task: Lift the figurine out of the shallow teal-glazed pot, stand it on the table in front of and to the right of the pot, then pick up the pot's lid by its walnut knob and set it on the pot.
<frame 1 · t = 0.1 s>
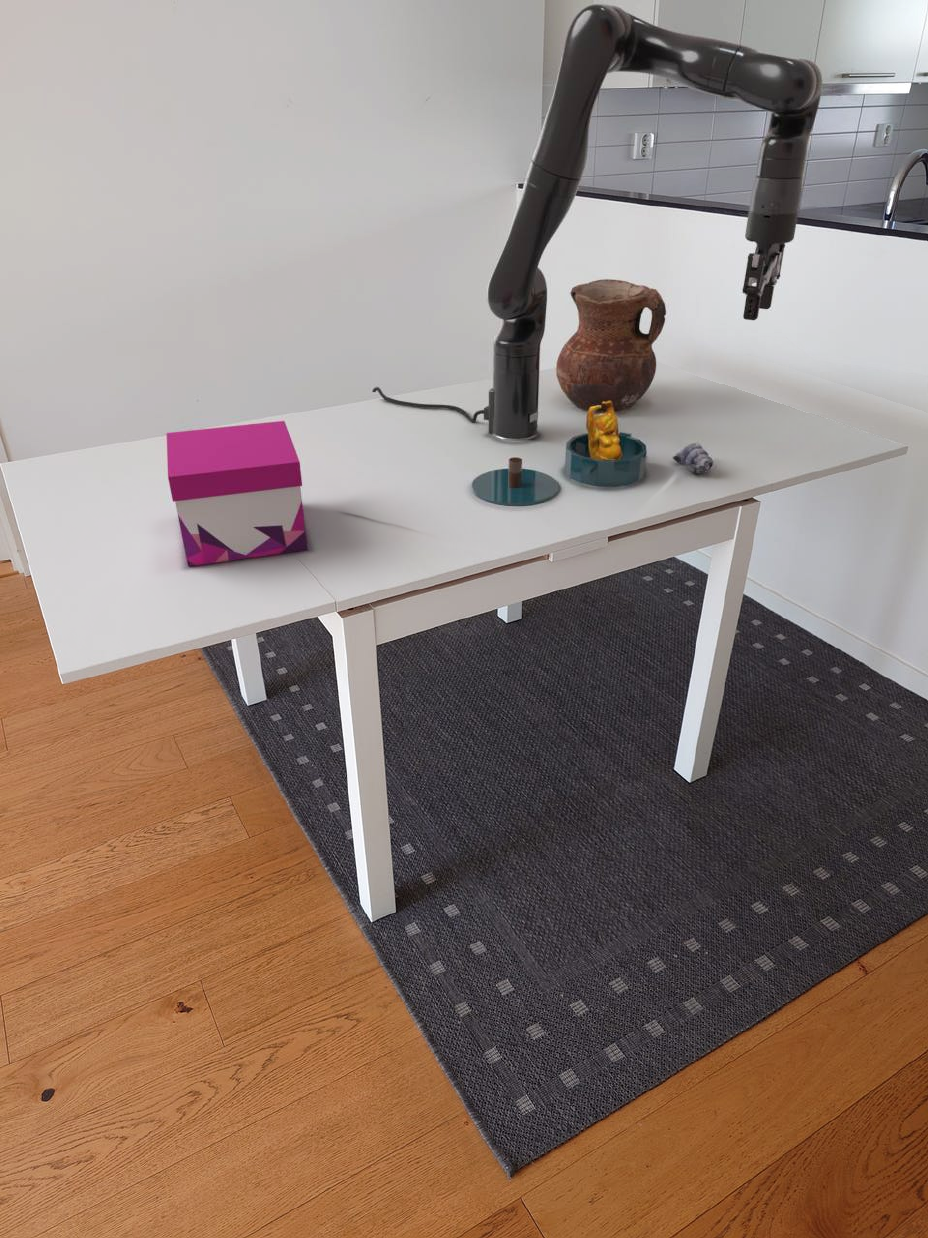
hand: (756, 313, 149), 29 cm above the table, tool pointing down, fingers open, 8 cm apart
figurine: (604, 472, 166), resting on pot
jug: (603, 403, 201), on the table
pot: (603, 473, 166), on the table
lid: (514, 487, 159), point 1 cm above the table
seashell: (693, 470, 167), on the table
decorative box: (244, 534, 146), on the table
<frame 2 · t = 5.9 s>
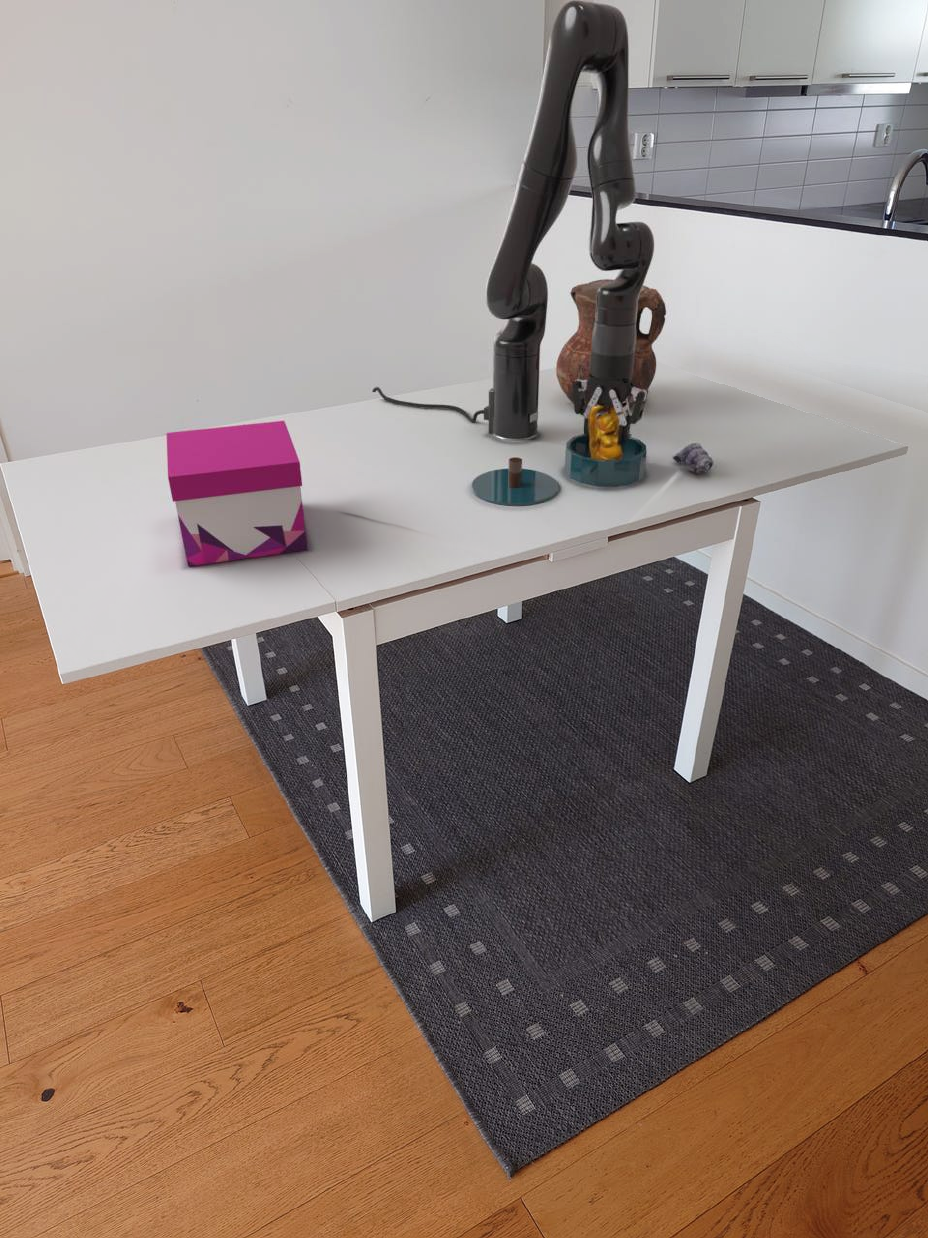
hand: (605, 439, 163), 7 cm above the table, tool pointing down, fingers closed on figurine, 5 cm apart
figurine: (604, 472, 166), resting on pot, touching gripper
everything else where it was.
when the fingers open (6 cm above the table, at t = 12.9 s): figurine stays where it is, on the table.
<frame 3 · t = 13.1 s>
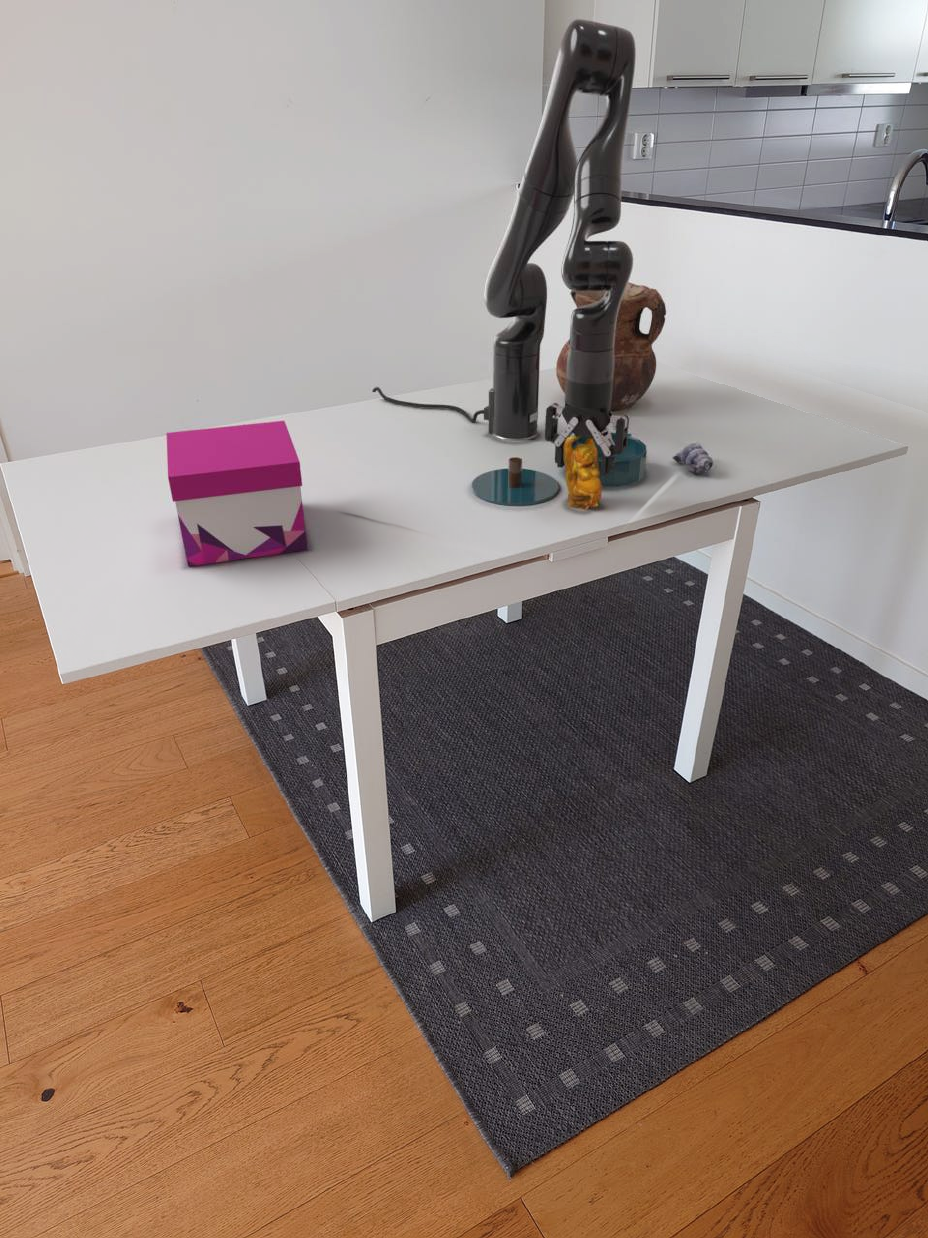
hand: (583, 470, 151), 7 cm above the table, tool pointing down, fingers open, 7 cm apart
figurine: (583, 506, 154), on the table
everything else where it was.
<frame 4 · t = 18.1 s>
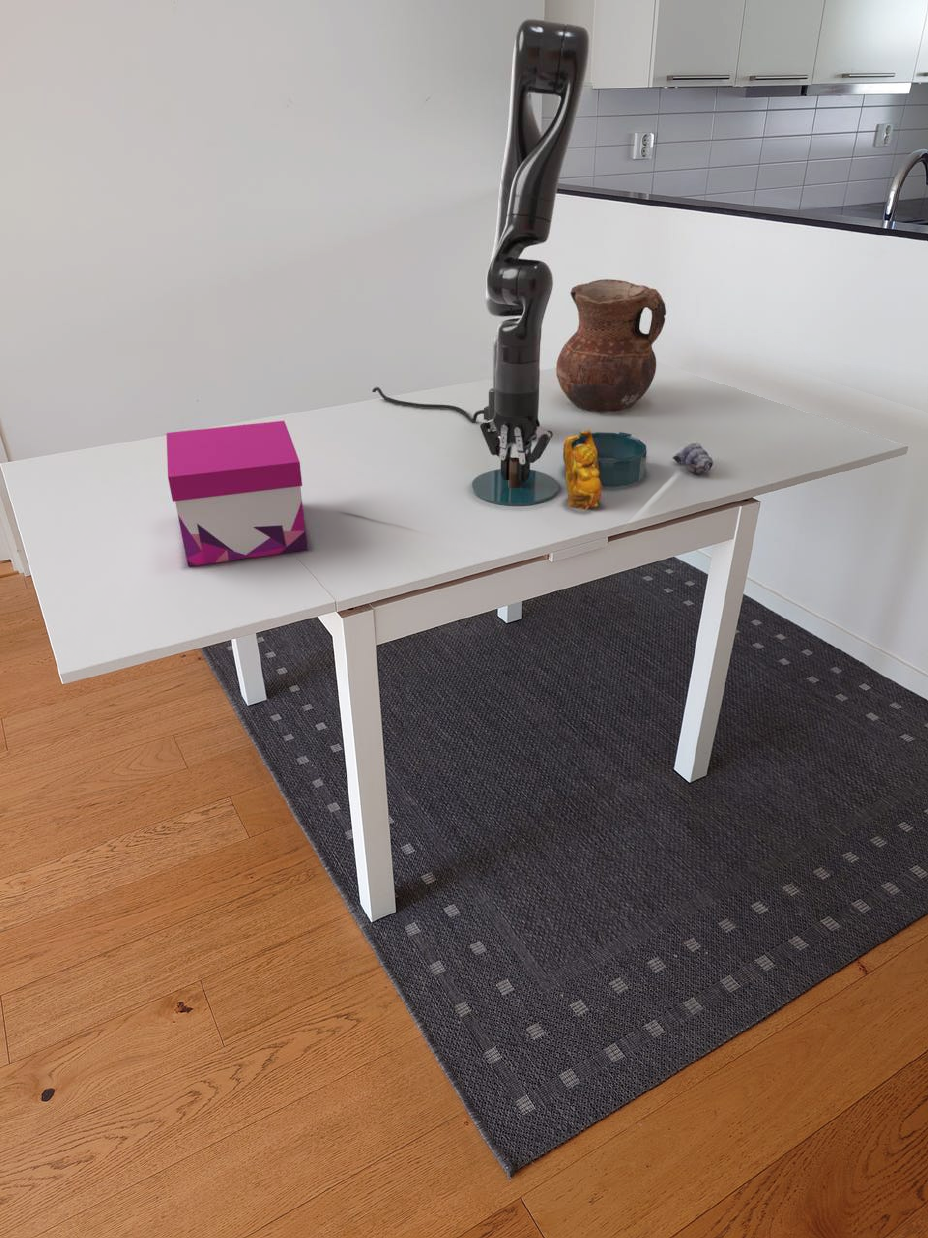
hand: (514, 479, 159), 2 cm above the table, tool pointing down, fingers closed on lid, 2 cm apart
lid: (514, 487, 159), point 1 cm above the table, touching gripper
everything else where it was.
when the fingers open (7 cm above the table, at t = 24.8 s): lid stays where it is, resting on pot.
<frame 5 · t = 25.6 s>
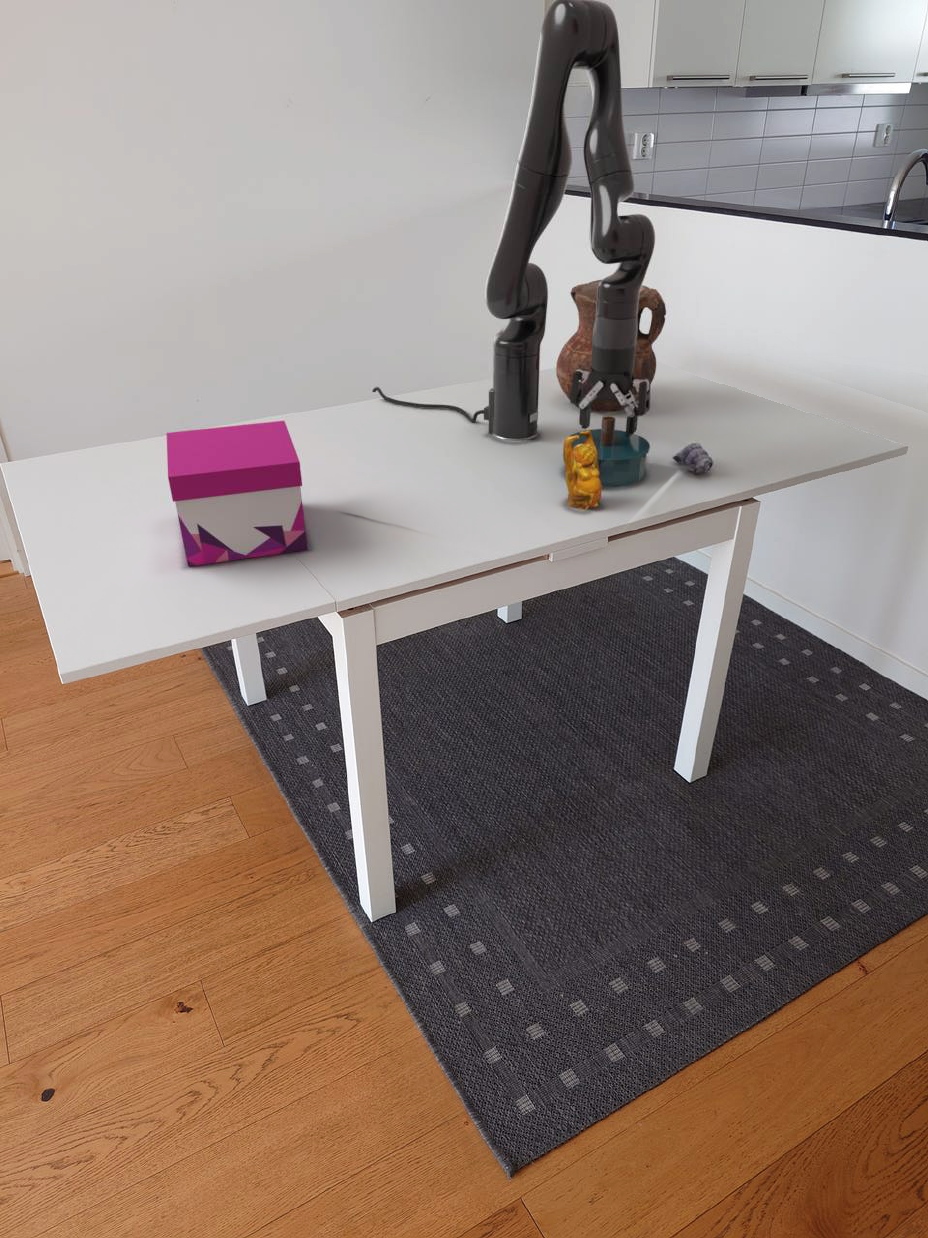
hand: (607, 431, 162), 8 cm above the table, tool pointing down, fingers open, 8 cm apart
lid: (606, 446, 163), point 5 cm above the table, touching pot
everything else where it was.
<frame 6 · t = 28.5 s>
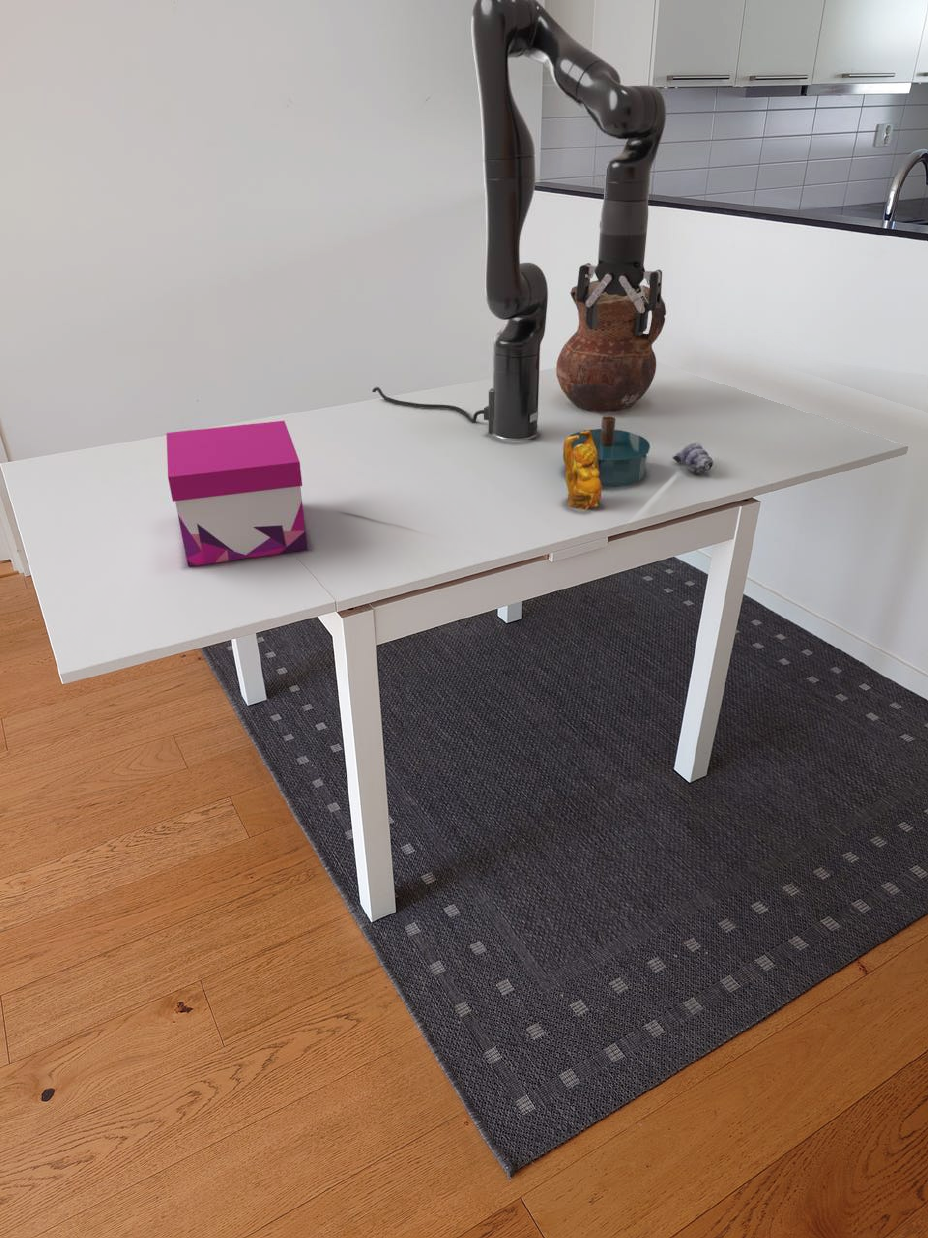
hand: (615, 331, 152), 26 cm above the table, tool pointing down, fingers open, 8 cm apart
nothing on the table moved.
at the end: figurine inside the target area (0.4 cm from its centre), on the table; figurine tilted 0°; lid 0.1 cm off-centre on the pot, point 5.4 cm above the pot's base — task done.
